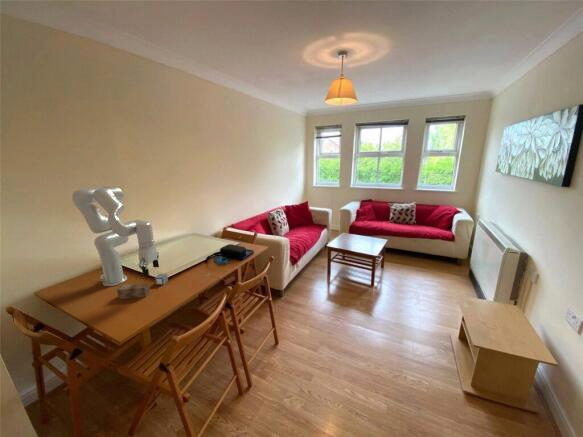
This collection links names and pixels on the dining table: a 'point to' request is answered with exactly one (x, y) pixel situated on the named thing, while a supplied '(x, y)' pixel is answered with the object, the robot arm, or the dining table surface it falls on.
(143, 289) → the walnut screen
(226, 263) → the dining table surface
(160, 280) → the marked cube
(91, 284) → the dining table surface
